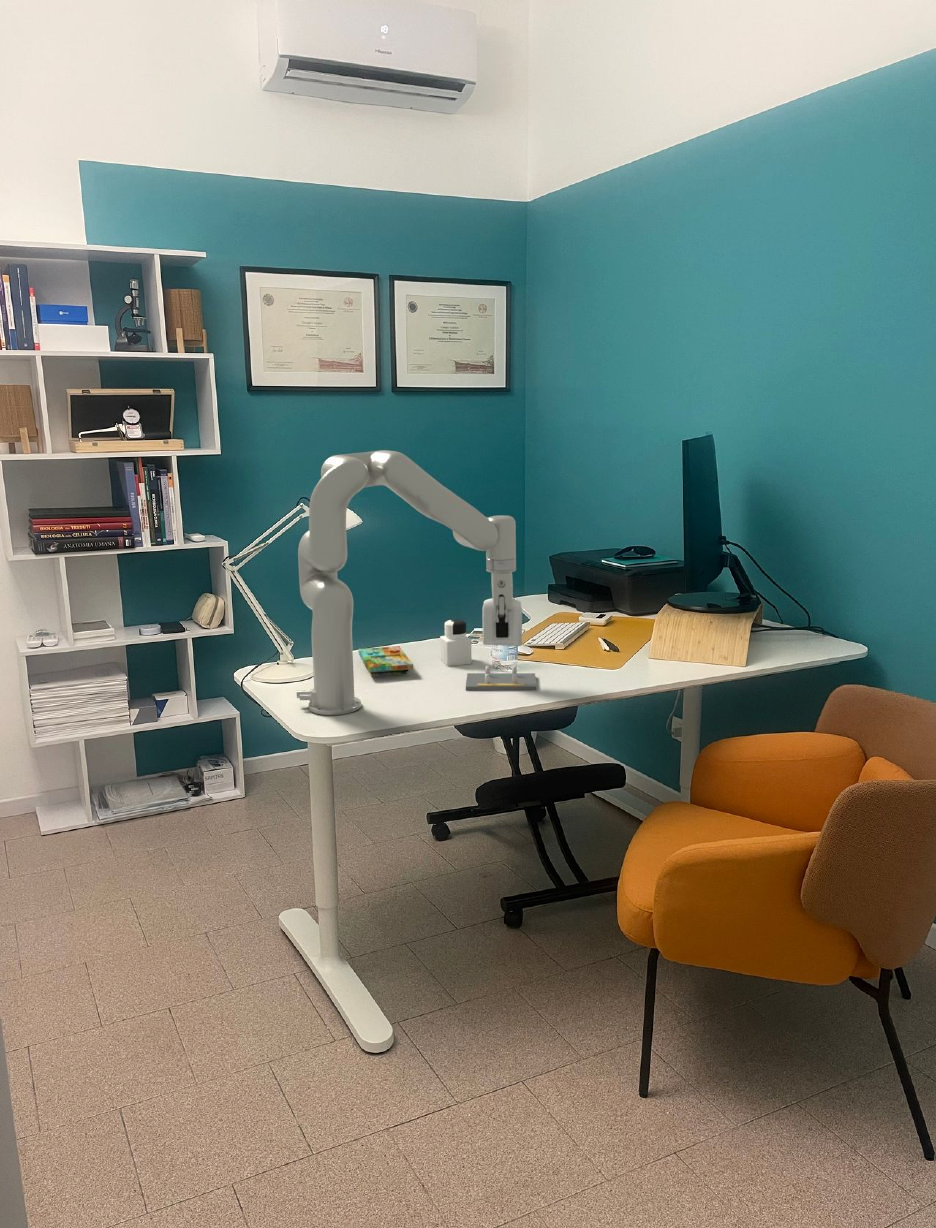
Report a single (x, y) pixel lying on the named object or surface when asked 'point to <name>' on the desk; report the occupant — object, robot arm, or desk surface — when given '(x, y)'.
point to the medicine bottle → (455, 644)
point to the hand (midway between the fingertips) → (502, 633)
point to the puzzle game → (385, 660)
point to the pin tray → (501, 680)
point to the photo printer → (513, 625)
